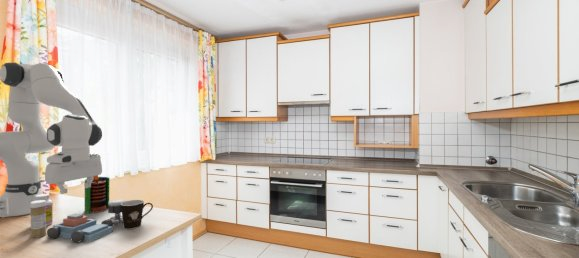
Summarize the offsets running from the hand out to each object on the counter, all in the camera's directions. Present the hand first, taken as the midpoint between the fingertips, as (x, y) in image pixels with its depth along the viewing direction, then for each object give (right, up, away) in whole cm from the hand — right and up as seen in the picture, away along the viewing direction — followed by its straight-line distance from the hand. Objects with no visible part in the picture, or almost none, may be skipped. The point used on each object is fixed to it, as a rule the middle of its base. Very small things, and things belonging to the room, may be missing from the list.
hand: (76, 190), depth 111 cm
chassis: (+2, -17, -1) cm, 17 cm away
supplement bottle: (-20, -17, +8) cm, 27 cm away
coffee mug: (+19, -17, +8) cm, 27 cm away
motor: (-12, -16, +28) cm, 34 cm away
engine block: (0, -15, 0) cm, 15 cm away
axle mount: (+9, -17, +12) cm, 23 cm away
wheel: (+9, -12, +12) cm, 19 cm away
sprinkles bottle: (-12, -17, -3) cm, 21 cm away
